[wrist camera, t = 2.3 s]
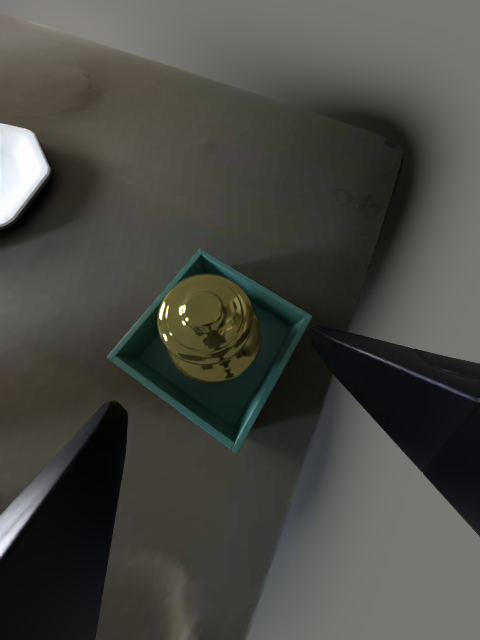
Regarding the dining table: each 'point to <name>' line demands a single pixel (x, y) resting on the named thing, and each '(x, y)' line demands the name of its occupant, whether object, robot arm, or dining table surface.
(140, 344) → the storage box
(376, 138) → the dining table surface
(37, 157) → the plate
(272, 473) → the dining table surface
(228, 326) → the brass door knob
